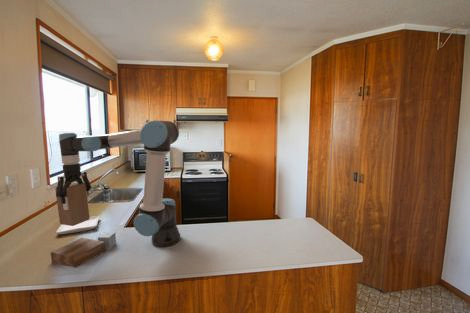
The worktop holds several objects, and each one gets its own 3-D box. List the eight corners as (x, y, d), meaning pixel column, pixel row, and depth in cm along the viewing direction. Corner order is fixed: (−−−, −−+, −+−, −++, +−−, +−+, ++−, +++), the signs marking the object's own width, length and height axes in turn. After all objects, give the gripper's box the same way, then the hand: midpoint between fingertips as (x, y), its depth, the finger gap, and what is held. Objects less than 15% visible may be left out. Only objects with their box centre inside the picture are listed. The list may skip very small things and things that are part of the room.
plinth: (105, 251, 128) (104, 241, 128) (76, 267, 113) (74, 257, 113) (82, 246, 134) (81, 237, 133) (51, 262, 119) (50, 252, 118)
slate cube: (116, 243, 137) (115, 232, 136) (109, 248, 131) (108, 237, 130) (105, 243, 137) (104, 232, 137) (98, 248, 132) (97, 237, 131)
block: (72, 226, 126) (67, 187, 123) (59, 224, 129) (54, 186, 127) (90, 219, 135) (86, 182, 133) (77, 218, 139) (73, 182, 136)
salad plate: (64, 225, 166) (63, 220, 166) (100, 219, 174) (100, 214, 174) (56, 237, 147) (55, 232, 146) (97, 230, 155) (96, 225, 155)
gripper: (86, 160, 139) (90, 199, 142) (42, 167, 119) (48, 212, 121) (96, 160, 136) (100, 200, 139) (53, 167, 116) (59, 214, 118)
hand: (76, 206), depth 130 cm, fingers closed on block, 10 cm apart
